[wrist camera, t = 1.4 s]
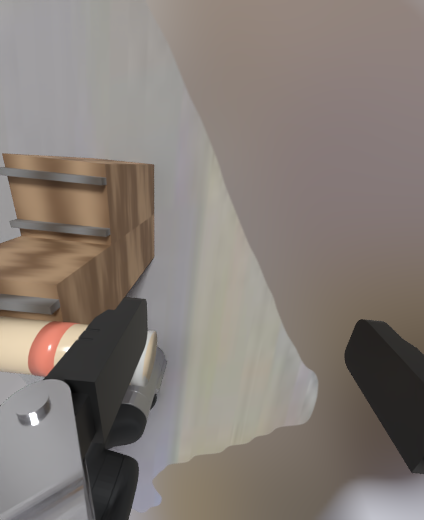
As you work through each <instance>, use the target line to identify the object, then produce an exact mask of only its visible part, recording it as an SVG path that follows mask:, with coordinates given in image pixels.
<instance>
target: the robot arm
mask: <svg viewBox="0 0 424 520" xmlns="http://www.w3.org/2000/svg"><path fill="white" fill-rule="evenodd" d="M147 334H148V328H147V302H146V299H140V298H129V297H125V298H123V299H122V301H121V302H120V304H119V305H118V306H117V308H116V309H115V310H110V309H108V310H106V311H104V312H103V313H101V314H100V315H98V316H97V317H95V318H94V319H93V321H92V322H91V323H90V324H89V325H88V327H87V328H86V330H84V331H83V333H82V334H81V335H80V336H79V337H78V340H76V341H75V342H74V343H73V345H72V346H71V347H70V348H69V349H68V351H67V352H66V353H65V354H64V355H63V357H62V358H61V359H60V360H59V361H58V363H57V364H56V365H55V366H54V367H53V369H52V370H51V371H50V372H49V373H48V375H47V376H46V377H45V378H44V379H43V380H42V381H38V382H35V383H32V384H30V385H27V386H26V387H24V388H22V389H20V390H18V391H17V392H16V393H14V394H13V395H11V396H10V397H9V398H8V399H7V400H6V401H5V402H3V404H2V405H0V520H128V519H129V515H130V512H131V508H132V504H133V500H134V495H135V491H136V487H137V482H138V475H139V467H138V463H137V461H136V460H135V459H134V458H132V457H130V456H127V455H123V454H120V453H117V452H114V451H110V450H108V449H110V448H112V447H115V446H120V445H127V444H131V443H134V442H136V441H137V440H138V439H139V438H140V437H141V436H142V434H143V432H144V429H145V426H146V422H147V418H148V415H149V412H150V408H151V405H152V401H153V398H154V395H155V394H156V393H158V392H159V389H160V386H161V382H162V379H163V375H164V371H165V368H166V364H167V361H166V360H165V356H164V353H163V352H162V350H161V349H160V348H158V347H157V350H156V357H155V362H154V366H153V370H152V374H151V377H150V380H149V382H148V384H147V385H146V386H145V387H141V386H132V385H129V384H130V382H131V380H132V377H133V375H134V372H135V370H136V368H137V365H138V363H139V361H140V358H141V356H142V353H143V351H144V349H145V345H146V341H147ZM345 363H346V366H347V368H348V370H349V371H350V373H351V375H352V376H353V378H354V380H355V381H356V383H357V385H358V386H359V388H360V389H361V391H362V393H363V394H364V396H365V397H366V399H367V401H368V402H369V404H370V406H371V407H372V409H373V411H374V412H375V414H376V415H377V417H378V419H379V420H380V422H381V423H382V425H383V427H384V428H385V430H386V432H387V433H388V435H389V437H390V438H391V440H392V442H393V443H394V445H395V446H396V448H397V450H398V451H399V453H400V454H401V456H402V458H403V459H404V461H405V463H406V464H407V466H408V468H409V469H410V471H411V472H412V473H420V474H424V355H423V354H422V353H421V352H420V351H419V350H418V349H417V348H416V347H414V346H413V345H411V344H410V343H408V342H407V341H405V340H404V339H402V338H401V337H400V336H399V335H398V334H397V333H396V332H395V331H394V330H393V329H392V328H391V327H390V326H389V325H388V324H387V323H385V322H382V321H373V320H363V319H361V320H359V321H358V322H357V323H356V325H355V328H354V330H353V333H352V335H351V337H350V340H349V342H348V345H347V347H346V350H345Z"/></svg>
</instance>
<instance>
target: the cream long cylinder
mask: <svg viewBox="0 0 424 520" xmlns="http://www.w3.org/2000/svg"><path fill="white" fill-rule="evenodd" d="M87 327H88V325H85V324H80V323H71V322H61V321H45V320H35V319H25V318H16V317H6V316H0V371H1V372H10V373H20V374H30V375H35V376H42V377H46V376H47V375H48V373H49V372H50V371H51V370H52V369H53V367H54V366H55V365H56V364H57V363H58V361H59V360H60V359H61V358H62V357H63V355H64V354H65V353H66V352H67V351H68V349H69V348H70V347H71V346H72V345H73V343H74V342H75V341H76V340H78V337H79V336H80V335H81V334H82V333H83V331H84V330H86V328H87ZM156 350H157V333H156V331H149V330H148V334H147V341H146V345H145V349H144V351H143V353H142V356H141V358H140V361H139V363H138V365H137V368H136V370H135V372H134V375H133V377H132V380H131V382H130V384H129V385H132V386H141V387H145V386H146V385H147V384H148V382H149V380H150V377H151V374H152V370H153V366H154V362H155V357H156Z"/></svg>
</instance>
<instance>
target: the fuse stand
mask: <svg viewBox="0 0 424 520" xmlns="http://www.w3.org/2000/svg"><path fill="white" fill-rule="evenodd" d="M2 155H3V159H4V164H5V167H0V175H4V176H8V181H9V185H10V189H11V194H12V198H13V202H14V207H15V211H16V215H17V219H15V220H11V221H10V225H11V227H13V228H20V232H21V236H20V237H17V238H14V239H12V240H9V241H6V242H3V243H0V316H6V317H16V318H25V319H35V320H45V321H61V322H71V323H80V324H85V325H89V324H90V323H91V322H92V321H93V319H94V318H95V317H97V316H98V315H100V314H101V313H103V312H104V311H106V310H108V309H110V310H115V309H116V308H117V306H118V305H119V304H120V302H121V301H122V299H123V298H124V297H125V296H126V294H127V293H128V292H129V290H130V289H131V288H132V286H133V285H134V284H135V282H136V281H137V280H138V278H139V277H140V275H141V274H142V273H143V271H144V270H145V269H146V267H147V266H148V265H149V263H150V262H151V261H152V259H153V258H154V165H153V164H143V163H133V162H124V161H114V160H104V159H94V158H76V157H58V156H39V155H21V154H3V153H2Z"/></svg>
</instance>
